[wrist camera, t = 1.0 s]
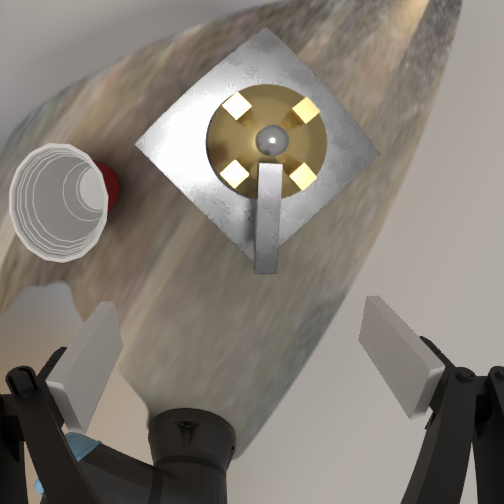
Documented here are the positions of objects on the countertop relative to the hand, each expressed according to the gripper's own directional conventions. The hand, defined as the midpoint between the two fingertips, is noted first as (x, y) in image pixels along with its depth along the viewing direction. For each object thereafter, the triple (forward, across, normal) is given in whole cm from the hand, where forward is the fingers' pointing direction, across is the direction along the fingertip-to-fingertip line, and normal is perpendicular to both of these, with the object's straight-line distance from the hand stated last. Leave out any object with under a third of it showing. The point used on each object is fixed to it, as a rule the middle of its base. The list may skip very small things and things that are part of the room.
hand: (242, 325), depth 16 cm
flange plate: (+23, +3, +10) cm, 25 cm away
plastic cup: (+23, -16, +5) cm, 28 cm away
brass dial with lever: (+18, +3, +6) cm, 20 cm away
